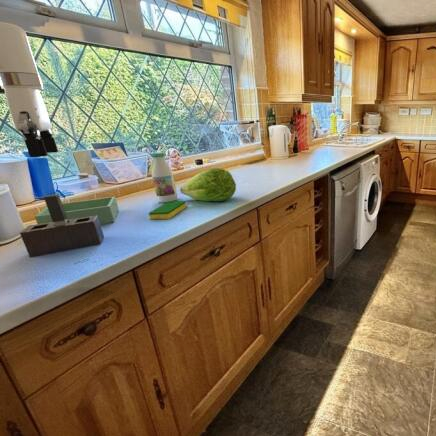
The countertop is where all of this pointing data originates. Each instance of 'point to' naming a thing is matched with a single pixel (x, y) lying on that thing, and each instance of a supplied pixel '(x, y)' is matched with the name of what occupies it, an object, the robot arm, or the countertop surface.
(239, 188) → the countertop surface
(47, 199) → the knife
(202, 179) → the lettuce
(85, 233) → the knife rack
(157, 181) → the milk bottle
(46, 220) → the green tray
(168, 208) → the dish sponge
